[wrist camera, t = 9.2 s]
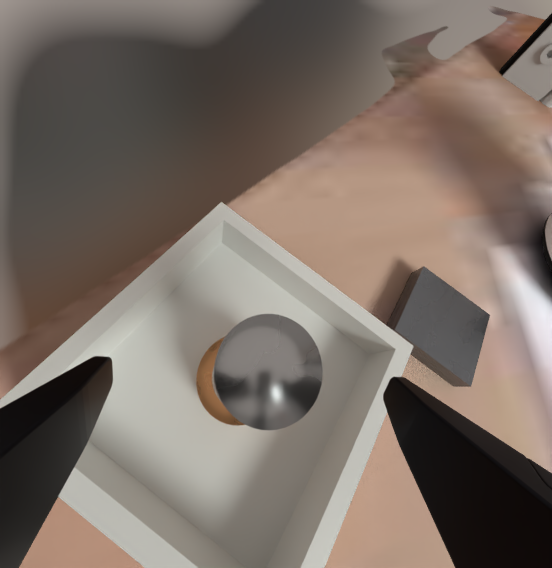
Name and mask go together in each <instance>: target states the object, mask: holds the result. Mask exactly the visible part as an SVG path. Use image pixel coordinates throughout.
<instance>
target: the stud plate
mask: <svg viewBox="0 0 552 568" xmlns="http://www.w3.org/2000/svg"><path fill="white" fill-rule="evenodd" d="M489 316H490V315H489V314H488V313H487V312H485V311H484V310H482V309H481V308H480V307H478V306H477V305H476V304H474V303H473V302H472V301H470V300H469V299H467V298H466V297H465V296H463V295H462V294H461V293H459V292H458V291H457V290H455V289H454V288H453V287H451V286H450V285H448V284H447V283H446V282H444V281H443V280H442V279H440V278H439V277H438V276H436V275H435V274H433V273H432V272H431V271H429V270H428V269H427V268H425V267H422V268H420V269H418V270H416V271H415V272H413V273H411V275H410V278H409V280H408V282H407V284H406V286H405V288H404V290H403V292H402V294H401V296H400V298H399V301H398V303H397V305H396V307H395V309H394V311H393V313H392V315H391V317H390V319H389V321H388V324H387V326H388V327H389V328H390V329H392V330H393V331H394V332H396V333H397V334H398V335H400V336H401V337H402V338H404V339H405V340H406V341H408V342H409V343H410V344H412V345H413V349H412V351H411V355H413V356H414V357H415V358H417V359H418V360H419V361H421V362H422V363H423V364H425V365H426V366H427V367H429V368H430V369H431V370H433V371H434V372H435V373H437V374H438V375H439V376H440V377H442V378H443V379H444V380H446V381H447V382H448V383H450V384H451V385H452V386H471V384H472V381H473V377H474V373H475V369H476V365H477V362H478V358H479V354H480V350H481V347H482V343H483V339H484V335H485V332H486V328H487V324H488V320H489Z"/></svg>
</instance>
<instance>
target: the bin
mask: <svg viewBox="0 0 552 568" xmlns="http://www.w3.org/2000/svg"><path fill="white" fill-rule="evenodd" d="M259 314H276V315H281V316H285V317H287V318H290V319H292V320H293V321H295V322H297V323H298V324H300V325H301V326H302V327H303V328H304V329H305V330H306V331H307V332H308V333H309V334H310V336H311V337H312V338H313V340H314V342H315V343H316V345H317V348H318V350H319V353H320V356H321V361H322V368H323V377H322V384H321V388H320V392H319V394H318V397H317V399H316V401H315V403H314V405H313V406H312V408H311V409H310V410H309V412H308V413H307V414H306V415H305V416H304V417H303V418H301V419H300V420H299V421H298V422H296V423H294V424H292V425H290V426H288V427H286V428H282V429H278V430H259V429H255V428H252V427H249V426H247V425H239V426H237V425H229V424H225V423H223V422H220V421H218V420H217V419H215V418H214V417H213V416H211V415H210V414H209V413H208V412H207V411H206V409H205V408H204V406H203V405H202V403H201V401H200V399H199V396H198V392H197V386H196V377H197V371H198V367H199V364H200V361H201V359H202V357H203V356H204V354H205V352H206V351H207V350H208V349H209V348H210V347H211V346H212V345H213V344H214V343H215V342H216V341H218V340H219V339H221V338H223V337H225V336H226V335H227V334H228V333H229V331H230V330H231V329H232V328H233V327H235V326H236V325H237V324H238V323H240V322H241V321H243V320H245V319H247V318H249V317H252V316H255V315H259ZM412 349H413V345H412V344H410V343H409V342H408V341H406V340H405V339H404V338H402V337H401V336H400V335H398V334H397V333H396V332H394V331H393V330H392V329H390V328H389V327H388V326H386V325H385V324H384V323H382V322H381V321H380V320H378V319H377V318H376V317H374V316H373V315H372V314H370V313H369V312H368V311H366V310H365V309H364V308H362V307H361V306H360V305H358V304H357V303H356V302H354V301H353V300H352V299H350V298H349V297H348V296H346V295H345V294H344V293H342V292H341V291H340V290H338V289H337V288H336V287H334V286H333V285H332V284H330V283H329V282H328V281H326V280H325V279H324V278H322V277H321V276H320V275H318V274H317V273H316V272H314V271H313V270H312V269H310V268H309V267H308V266H306V265H305V264H304V263H302V262H301V261H300V260H298V259H297V258H296V257H294V256H293V255H292V254H290V253H289V252H288V251H286V250H285V249H284V248H282V247H281V246H280V245H278V244H277V243H276V242H274V241H273V240H272V239H270V238H269V237H268V236H266V235H265V234H264V233H262V232H261V231H260V230H258V229H257V228H256V227H254V226H253V225H252V224H250V223H249V222H247V221H246V220H245V219H243V218H242V217H241V216H239V215H238V214H237V213H235V212H234V211H233V210H231V209H230V208H229V207H227V206H226V205H225V204H223V203H222V202H221V203H220V204H219V205H218V206H217V207H215V208H214V209H213V210H212V211H211V212H210V213H209V214H208V215H206V216H205V217H204V218H203V219H202V220H201V221H200V222H199V223H197V224H196V225H195V226H194V227H193V228H192V229H191V230H190V231H189V232H187V233H186V234H185V235H184V236H183V237H182V238H181V239H180V240H178V241H177V242H176V243H175V244H174V245H173V246H172V247H171V248H170V249H168V250H167V251H166V252H165V253H164V254H163V255H162V256H161V257H159V258H158V259H157V260H156V261H155V262H154V263H153V264H152V265H150V266H149V267H148V268H147V269H146V270H145V271H144V272H143V273H142V274H140V275H139V276H138V277H137V278H136V279H135V280H134V281H133V282H131V283H130V284H129V285H128V286H127V287H126V288H125V289H124V290H122V291H121V292H120V293H119V294H118V295H117V296H116V297H115V298H114V299H112V300H111V301H110V302H109V303H108V304H107V305H106V306H105V307H103V308H102V309H101V310H100V311H99V312H98V313H97V314H96V315H95V316H93V317H92V318H91V319H90V320H89V321H88V322H87V323H86V324H84V325H83V326H82V327H81V328H80V329H79V330H78V331H77V332H75V333H74V334H73V335H72V336H71V337H70V338H69V339H68V340H67V341H65V342H64V343H63V344H62V345H61V346H60V347H59V348H58V349H56V350H55V351H54V352H53V353H52V354H51V355H50V356H49V357H47V358H46V359H45V360H44V361H43V362H42V363H41V364H40V365H39V366H37V367H36V368H35V369H34V370H33V371H32V372H31V373H30V374H28V375H27V376H26V377H25V378H24V379H23V380H22V381H21V382H20V383H18V384H17V385H16V386H15V387H14V388H13V389H12V390H11V391H9V392H8V393H7V394H6V395H5V396H4V397H3V398H2V399H0V408H2V407H3V406H5V405H7V404H9V403H11V402H12V401H14V400H16V399H18V398H20V397H21V396H23V395H25V394H27V393H29V392H30V391H32V390H34V389H36V388H38V387H39V386H41V385H43V384H45V383H47V382H48V381H50V380H52V379H54V378H56V377H57V376H59V375H61V374H63V373H65V372H66V371H68V370H70V369H72V368H74V367H75V366H77V365H79V364H81V363H83V362H84V361H86V360H88V359H90V358H92V357H94V356H106V357H110V358H111V359H112V366H113V383H112V387H111V390H110V392H109V394H108V397H107V399H106V401H105V404H104V406H103V408H102V411H101V413H100V415H99V418H98V420H97V422H96V425H95V427H94V429H93V432H92V434H91V436H90V438H89V441H88V443H87V445H86V447H85V449H84V450H83V452H82V454H81V456H80V458H79V460H78V461H77V463H76V465H75V467H74V469H73V470H72V472H71V474H70V476H69V478H68V480H67V481H66V483H65V485H64V487H63V489H62V490H61V492H60V494H59V496H58V497H59V498H60V499H62V500H63V501H64V502H65V503H67V504H68V505H69V506H70V507H71V508H73V509H74V510H75V511H76V512H78V513H79V514H80V515H81V516H82V517H84V518H85V519H86V520H87V521H89V522H90V523H91V524H92V525H93V526H95V527H96V528H97V529H98V530H100V531H101V532H102V533H103V534H104V535H106V536H107V537H108V538H109V539H111V540H112V541H113V542H114V543H115V544H117V545H118V546H119V547H120V548H122V549H123V550H124V551H125V552H126V553H128V554H129V555H130V556H131V557H133V558H134V559H135V560H136V561H137V562H139V563H140V564H141V565H142V566H144V567H145V568H324V567H325V565H326V562H327V560H328V557H329V555H330V552H331V550H332V548H333V545H334V543H335V540H336V538H337V535H338V533H339V530H340V528H341V525H342V523H343V520H344V518H345V515H346V513H347V510H348V508H349V505H350V503H351V500H352V498H353V495H354V493H355V490H356V488H357V485H358V483H359V480H360V478H361V476H362V473H363V471H364V468H365V466H366V463H367V461H368V458H369V456H370V453H371V451H372V448H373V446H374V443H375V441H376V438H377V436H378V433H379V431H380V428H381V426H382V423H383V421H384V418H385V416H386V413H387V409H386V407H385V404H384V401H383V394H384V391H385V389H386V387H387V385H388V383H389V380H390V379H391V378H392V377H401V376H402V374H403V371H404V369H405V366H406V364H407V361H408V359H409V356H410V354H411V351H412Z"/></svg>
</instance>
